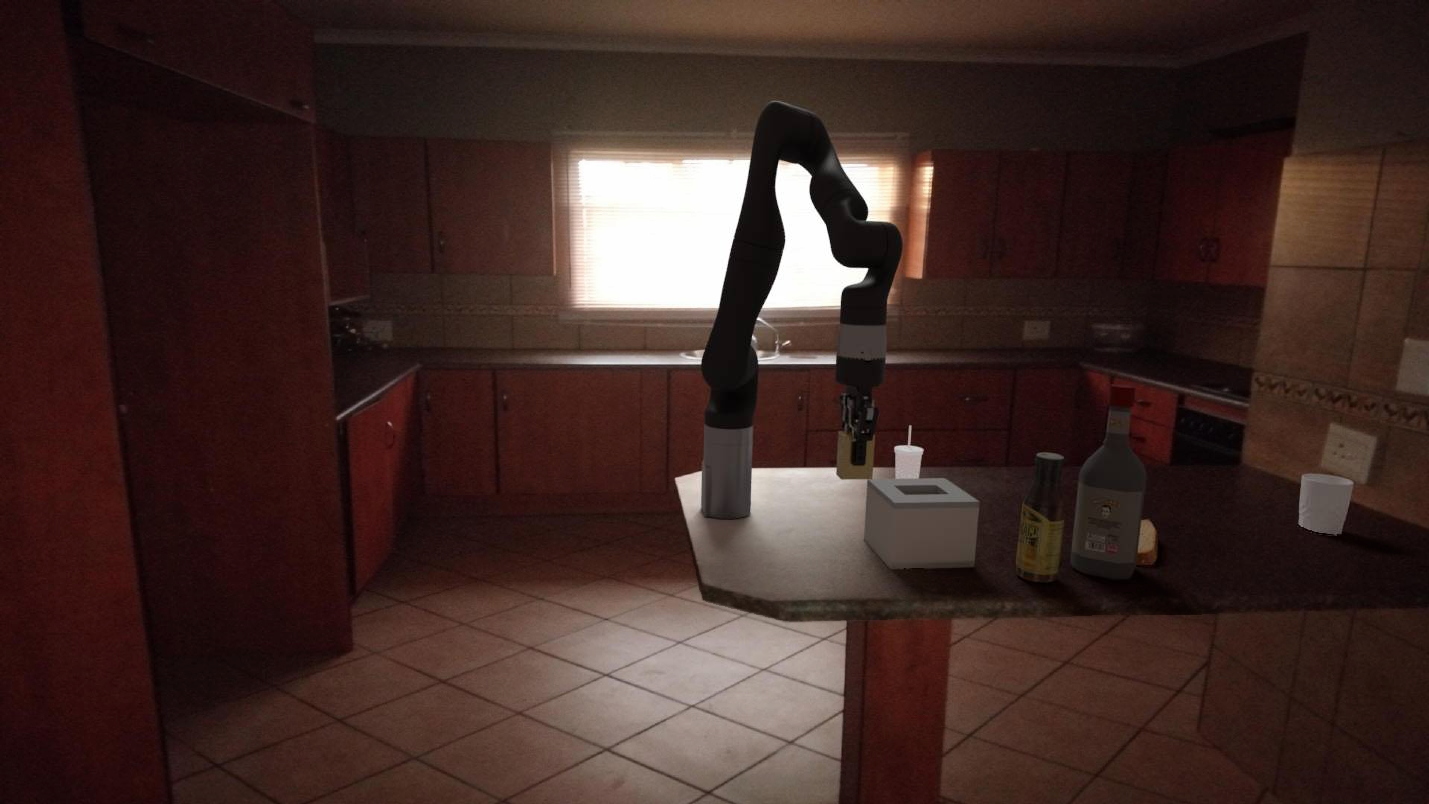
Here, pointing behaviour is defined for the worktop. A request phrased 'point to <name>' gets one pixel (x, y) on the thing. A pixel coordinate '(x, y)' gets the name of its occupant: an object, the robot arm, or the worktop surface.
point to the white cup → (1324, 502)
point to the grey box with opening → (921, 523)
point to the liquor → (1110, 498)
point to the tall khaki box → (844, 459)
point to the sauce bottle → (1042, 522)
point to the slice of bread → (1147, 544)
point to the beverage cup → (908, 460)
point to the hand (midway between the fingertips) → (855, 462)
